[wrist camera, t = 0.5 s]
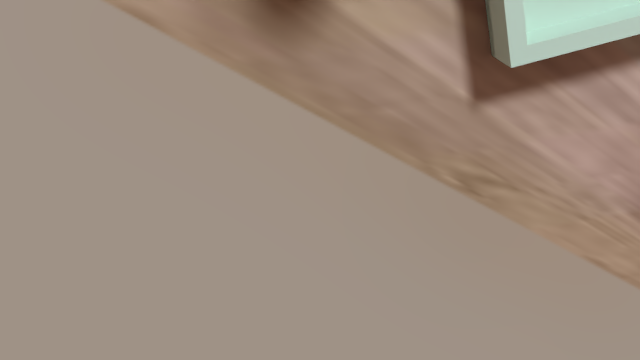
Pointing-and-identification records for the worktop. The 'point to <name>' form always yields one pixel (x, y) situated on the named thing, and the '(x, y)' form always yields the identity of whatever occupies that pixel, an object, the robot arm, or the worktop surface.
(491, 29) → the tray
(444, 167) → the worktop surface
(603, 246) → the worktop surface
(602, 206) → the worktop surface
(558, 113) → the worktop surface
